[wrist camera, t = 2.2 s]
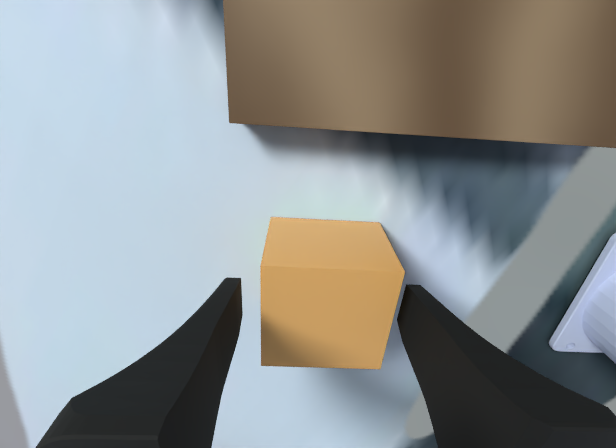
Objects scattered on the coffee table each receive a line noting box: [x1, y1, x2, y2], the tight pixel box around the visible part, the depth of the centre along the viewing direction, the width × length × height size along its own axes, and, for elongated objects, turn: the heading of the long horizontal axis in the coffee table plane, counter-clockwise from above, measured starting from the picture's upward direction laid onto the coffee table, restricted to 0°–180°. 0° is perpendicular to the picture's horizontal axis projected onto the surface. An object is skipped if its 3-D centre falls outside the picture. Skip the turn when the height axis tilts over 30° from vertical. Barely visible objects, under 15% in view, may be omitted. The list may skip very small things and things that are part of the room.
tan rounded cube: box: [261, 217, 405, 369], centre depth 14 cm, size 5×5×4 cm
